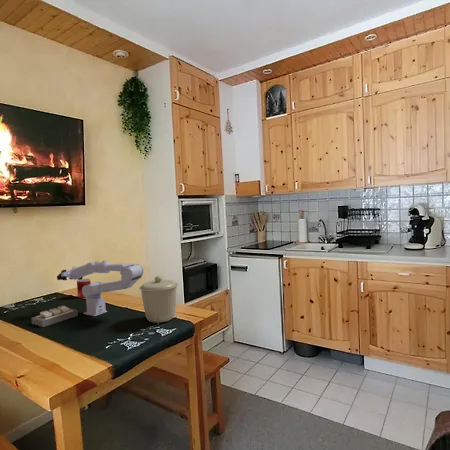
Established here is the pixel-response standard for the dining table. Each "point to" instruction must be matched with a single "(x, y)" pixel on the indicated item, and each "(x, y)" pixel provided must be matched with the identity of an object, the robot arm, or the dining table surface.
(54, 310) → the switch
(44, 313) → the switch
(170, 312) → the canister
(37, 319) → the switch unit
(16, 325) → the dining table surface
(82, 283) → the canned food
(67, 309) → the switch
